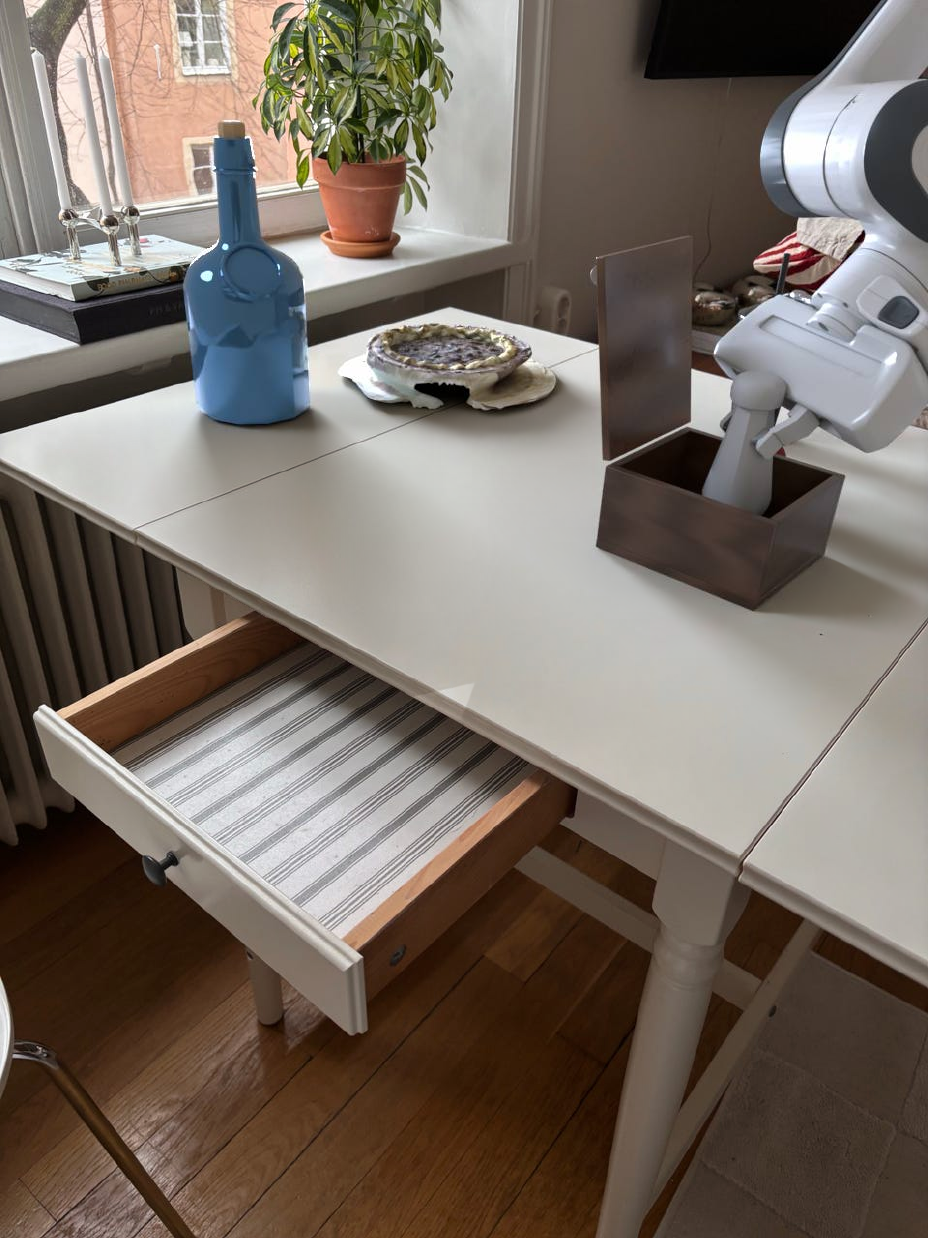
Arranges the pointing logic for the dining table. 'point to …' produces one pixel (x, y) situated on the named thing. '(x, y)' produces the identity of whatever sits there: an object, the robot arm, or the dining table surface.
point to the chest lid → (644, 342)
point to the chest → (715, 519)
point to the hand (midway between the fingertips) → (742, 442)
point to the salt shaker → (746, 444)
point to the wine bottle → (245, 305)
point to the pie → (449, 366)
